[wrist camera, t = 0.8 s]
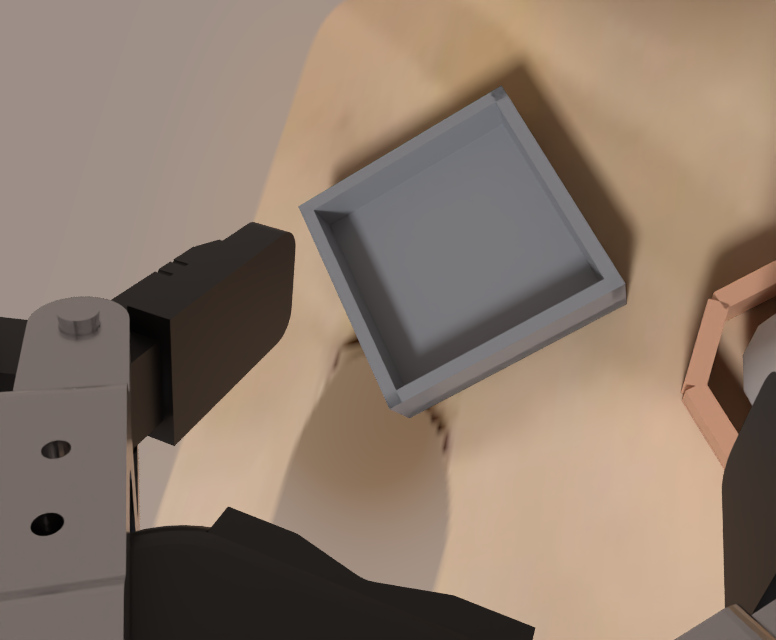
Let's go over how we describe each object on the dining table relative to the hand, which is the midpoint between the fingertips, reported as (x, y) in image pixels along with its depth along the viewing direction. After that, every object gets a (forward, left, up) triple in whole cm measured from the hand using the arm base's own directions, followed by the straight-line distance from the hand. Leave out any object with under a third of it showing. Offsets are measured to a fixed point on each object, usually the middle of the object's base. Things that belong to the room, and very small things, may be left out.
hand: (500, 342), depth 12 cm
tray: (+1, -10, -21) cm, 23 cm away
